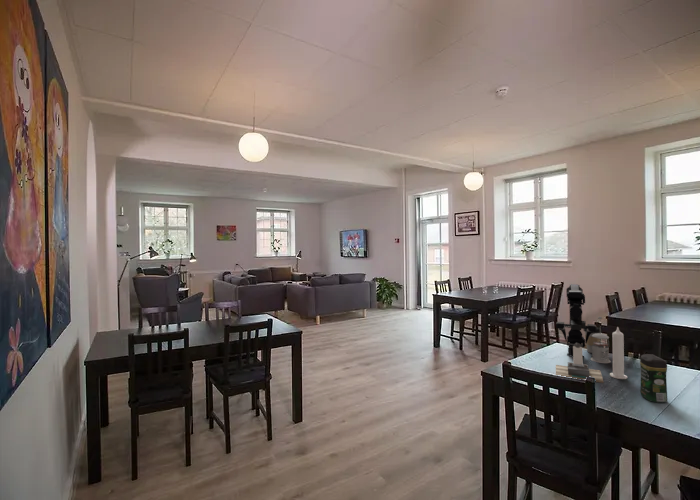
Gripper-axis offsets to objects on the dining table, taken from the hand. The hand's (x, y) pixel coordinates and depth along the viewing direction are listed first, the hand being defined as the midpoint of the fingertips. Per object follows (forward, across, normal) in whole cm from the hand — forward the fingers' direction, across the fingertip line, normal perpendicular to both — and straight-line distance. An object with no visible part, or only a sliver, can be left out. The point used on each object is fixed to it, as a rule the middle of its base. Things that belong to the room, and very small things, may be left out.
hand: (575, 342), depth 199 cm
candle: (+13, +18, -9) cm, 24 cm away
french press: (+13, +13, +17) cm, 25 cm away
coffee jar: (+13, +28, -33) cm, 45 cm away
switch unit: (+13, +1, -14) cm, 19 cm away
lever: (+8, 0, -14) cm, 17 cm away
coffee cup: (+13, +9, +32) cm, 35 cm away
